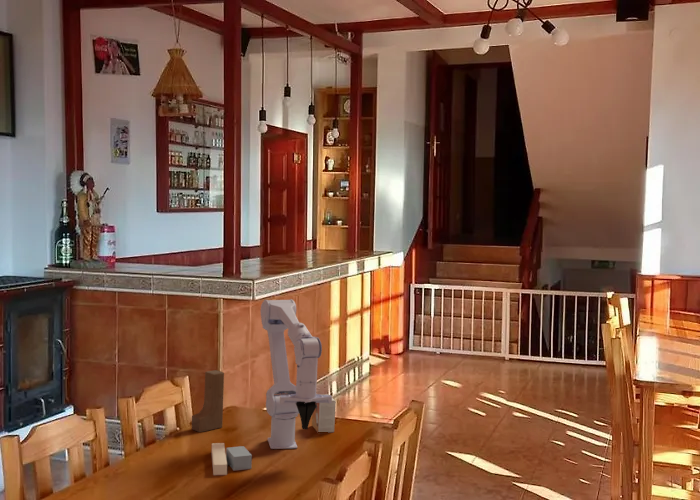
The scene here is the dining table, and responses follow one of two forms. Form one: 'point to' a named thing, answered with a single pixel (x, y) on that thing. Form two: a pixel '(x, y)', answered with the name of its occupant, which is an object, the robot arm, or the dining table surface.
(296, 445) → the robot arm
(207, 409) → the wooden block
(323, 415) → the small box
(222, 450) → the beige rectangular bar
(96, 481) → the dining table surface
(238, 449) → the block
